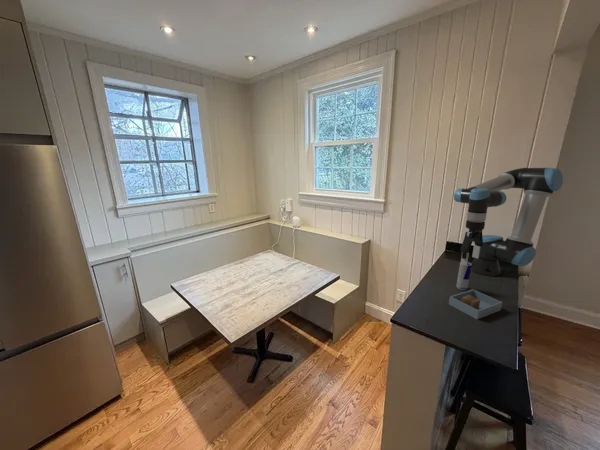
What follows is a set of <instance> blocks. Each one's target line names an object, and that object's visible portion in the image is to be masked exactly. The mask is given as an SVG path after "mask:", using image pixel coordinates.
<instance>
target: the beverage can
mask: <svg viewBox="0 0 600 450" xmlns="http://www.w3.org/2000/svg"><path fill="white" fill-rule="evenodd" d="M460 263H461V261H460V262H459V268H458V273H457V280H456V288H457V289H458V290H461V291H468V288H469V283H470V276H471V271H472V270H471V265H472V264H471V263H472V262H469V261H468V263H467V265H463V264H460Z"/></svg>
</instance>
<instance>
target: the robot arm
mask: <svg viewBox="0 0 600 450" xmlns="http://www.w3.org/2000/svg"><path fill="white" fill-rule="evenodd" d="M563 181H564V176H563V173H562V171H561V169H559V168H556V167H555V168H554V167H520V168H516V169H512V170H508V171H506V172H502V173H500V174H499V175H497V177H495V178H491V179H490V180H486V181H484V182H482V183H479V184H477V185H476V184H475V185H474V186H470V187H469V188H458V189H456V190H455V191H454V193H453V200H454V201H455V202H457V203H461V204H468V207H467V208H468V209H467V212H466V222H465V228H466V229H468V231H465V234H464V237H463V241H462V244H461V246H460V250H459V251H460V252H461V257H460V262H461V263H460V262H459V265H460V264H463V265H467V263H468V262H469V256H470V255H469V254H470V253H469V251H470V249H471V246H472V244H473V249H472V255H471V257H472V258H474V259H473V260H472V262H470V263H471V264H472V265H471V271H472V272H474V273H477V274H479V275H483V276H488V277H497V275H498V276H500V275H499V274H501V267H500V263H499V261H502V262H506V263H510V264H512V265H514V266H515V265H516V266H518V267H519V266H520V267H525V266H528V265H529V264H531V263H532V262H533V260H534V259H535V258H536V257H535V256H536V255H537V249H536V248H535V247H534V242H533V241H532V239H533V236H534V233H535V231H536V228H537V225H538V224H539V223H538V222H539V220H540V218H541V214H542V212H543V209H544V206H545V204H546V201H547V198H548V197H550V196H552V195H553V193H554V192H557V191H559V190H560V189H561V187H562V186H563ZM510 189H521V190H522V189H523V193H524V194H525V196H524V199H523V200H522V205H521V208H520V209H519V212H518V215H517V219H516V221H515V224H514V226H513V230H512V233H511V235H509V236H508V237H506V239H505V240H504V237H503V236H501V235H494V234H490V235H489V234H485V235H483V231H484V229H485V226H486V222H485V221H487V213H488V208H493V207H495V208H496V207H500V206H502V205H504V204H505V203H506V202H507V195H506V193H505V192H504V191H502V190H510Z"/></svg>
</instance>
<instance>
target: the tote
mask: <svg viewBox="0 0 600 450" xmlns="http://www.w3.org/2000/svg"><path fill="white" fill-rule="evenodd" d="M467 295H470V296H473V297H475V298H477V299H479V300H480V304H479V310H477V309H475V308H473V307H471V306H469V305H467V304H465V303H463V302H461V301H462V297H464V296H467ZM448 306H451V307H453V308H455V309H456V310H459V311H460V312H463V313H464V314H466V315H468V316H470V317H472V318H474V319H475V320H480V319H482V318H485V317H487V316H489V315H493V314H495V313H497V312H500V311H502V308H503V307H502V306H503V301H501V300H498V299H497V298H493V297H492V296H489V295H487V294H485V293H482V292H480V291H478V290H476V289H473V288H472V289H469V290H465V291H463V292H459V293H457V294H453V295H450V296H449V299H448Z"/></svg>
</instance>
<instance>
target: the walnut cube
mask: <svg viewBox="0 0 600 450" xmlns="http://www.w3.org/2000/svg"><path fill="white" fill-rule="evenodd" d="M461 302H463V303H465V304H467V305H469V306H471V307H473V308H475V309H477V310H479V304H480V300H479V299H477V298H475V297H473V296H470V295H467V296H464V297H462V301H461Z"/></svg>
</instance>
